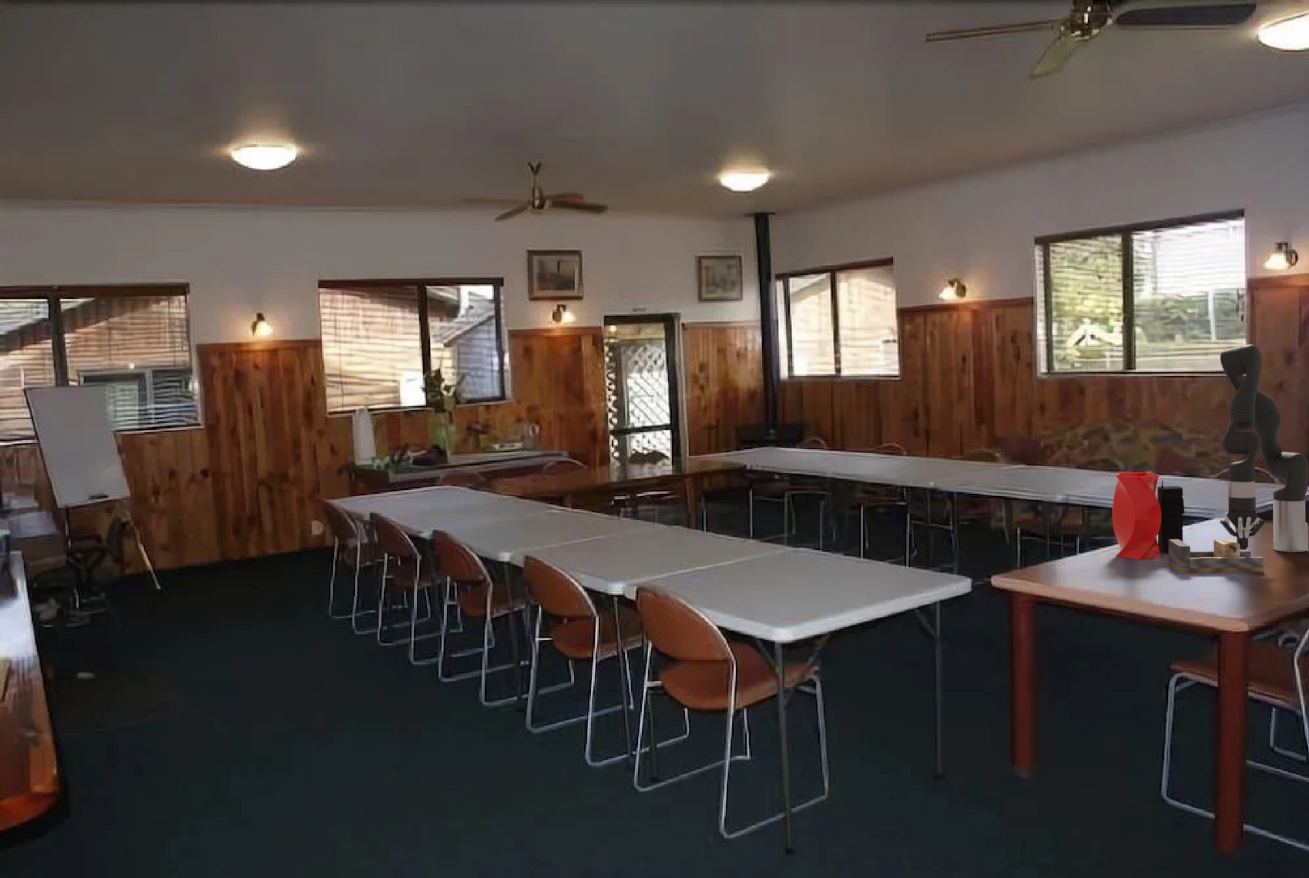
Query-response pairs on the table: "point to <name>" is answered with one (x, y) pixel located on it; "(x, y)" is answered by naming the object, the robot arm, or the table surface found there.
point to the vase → (1136, 515)
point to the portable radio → (1170, 515)
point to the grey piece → (1210, 560)
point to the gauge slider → (1226, 548)
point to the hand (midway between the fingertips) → (1242, 549)
